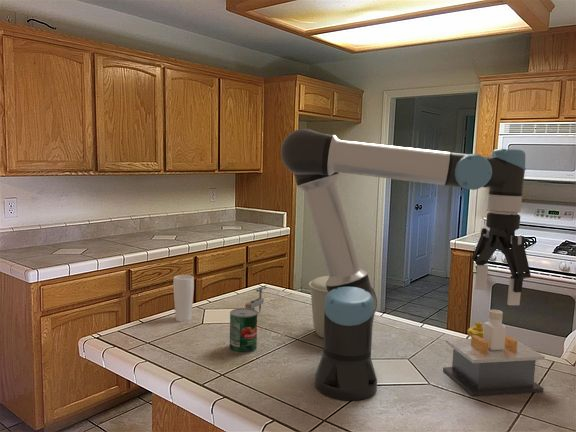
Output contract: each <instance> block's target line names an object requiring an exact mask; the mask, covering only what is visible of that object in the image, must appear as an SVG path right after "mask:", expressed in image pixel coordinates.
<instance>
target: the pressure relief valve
mask: <svg viewBox="0 0 576 432" xmlns="http://www.w3.org/2000/svg"><path fill="white" fill-rule="evenodd" d="M482 325H483V324H482V322H479V321H476V322H475V323H474V325H473V326H472V327H469V328H468V329H467V335H468V336H469V337H471V336H472V335H477V336H479V337H480V338H483V331H484V326H482Z"/></svg>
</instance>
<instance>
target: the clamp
mask: <svg viewBox="0 0 576 432" xmlns="http://www.w3.org/2000/svg"><path fill="white" fill-rule="evenodd" d="M266 289H267V286H263V287H262V286H259V287H258V288H256V290H255V291H256V292H257V293H258V292H259V295H258V298H255V299H253V300H251V301H250V302H246V303H245V307H244V308H249V309H254V310H255V308H257V307H258V312H259V313H261V310H262V305H263V304H264V302H265V301H264V298H262V295H263V294H262V293H263V290H266Z"/></svg>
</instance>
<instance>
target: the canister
mask: <svg viewBox="0 0 576 432" xmlns="http://www.w3.org/2000/svg"><path fill="white" fill-rule="evenodd" d="M328 278H329V275H322V276H318V277H316V278H314V279H313V280H312V279H311V281H309V282H308V287H310V298H311V310H312V311H311V312H312V313H311V314H312V321H313V322H312V323H313V328H314V331H315V334H317V336H319V337H320V338H322V339H324V314H325V312H324V303H325V298H326V295H327V293H328V291H327V287H326V282H327V280H328Z"/></svg>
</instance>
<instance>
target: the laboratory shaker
mask: <svg viewBox="0 0 576 432" xmlns="http://www.w3.org/2000/svg"><path fill="white" fill-rule="evenodd" d="M470 337H471V338H465V339H464V338H461V339H459V338H458V339H457V338H456V339H445V343H446V344H447V345H448V346H450V347H451V348H452V363H451V366H448V367H446V366H445V367H442V372H443V373H445V374H446V375H447V376H448V377H449V378H450V379H451V380H453V382H455V383H456V384H457V385H458V386H459V387H461V388H462V389H463V390H464V391H465V392H466V393H467V394H469V396H471V397H485V396H499V395H514V394H515V395H517V394H518V395H519V394H529V393H530V394H531V393H532V394H533V393H543V392H544V387H543V386H541V385H540V384H538V383H537V382H535V372H536V362H537V361H542V360H544V361H545V359H546V357H545V355H543V354H541V353H540V352H538V351H536V350H534V349H533V348H530V347H529V346H527V345H526V344H523V343H522V342H520V341H518V340H517V339H515V338H513V337H512V336H509V335H507V333H506V334H505V347H504V349H503V350H490V349H488V342H487V341H485V340H484V339H483V338H480V337H479V336H477V335H472V336H470Z"/></svg>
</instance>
